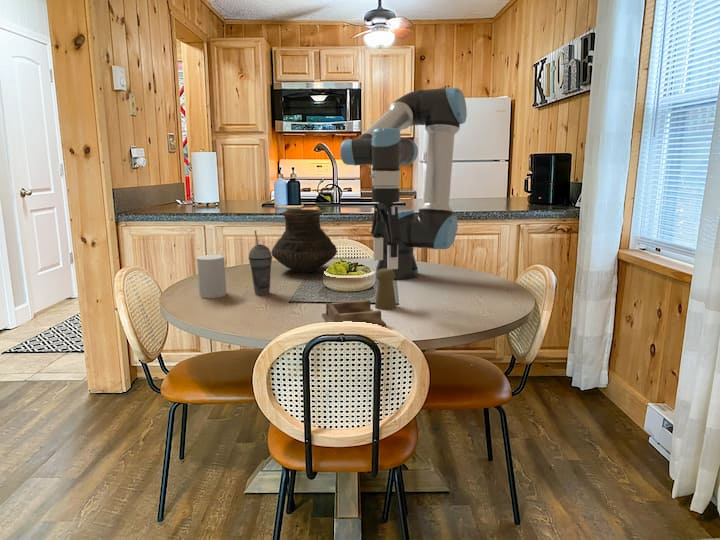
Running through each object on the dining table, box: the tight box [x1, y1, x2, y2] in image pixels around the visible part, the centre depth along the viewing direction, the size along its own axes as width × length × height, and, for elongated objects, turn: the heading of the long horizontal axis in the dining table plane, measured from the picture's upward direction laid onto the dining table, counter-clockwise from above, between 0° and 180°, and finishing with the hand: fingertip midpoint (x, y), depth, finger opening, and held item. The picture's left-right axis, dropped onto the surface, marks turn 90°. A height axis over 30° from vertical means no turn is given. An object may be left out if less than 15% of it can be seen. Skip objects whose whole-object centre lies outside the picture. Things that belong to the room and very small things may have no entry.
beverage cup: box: [248, 229, 273, 296], centre depth 159 cm, size 7×7×20 cm
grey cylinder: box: [196, 254, 227, 299], centre depth 159 cm, size 8×8×12 cm
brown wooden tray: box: [321, 299, 387, 327], centre depth 133 cm, size 14×13×4 cm
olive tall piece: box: [374, 268, 397, 311], centre depth 144 cm, size 6×6×11 cm
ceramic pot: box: [270, 208, 338, 273], centre depth 192 cm, size 24×24×22 cm
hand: (385, 264), depth 143 cm, fingers open, 13 cm apart
